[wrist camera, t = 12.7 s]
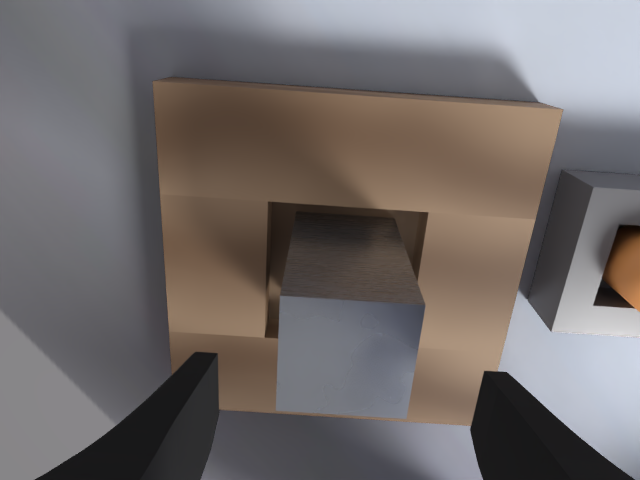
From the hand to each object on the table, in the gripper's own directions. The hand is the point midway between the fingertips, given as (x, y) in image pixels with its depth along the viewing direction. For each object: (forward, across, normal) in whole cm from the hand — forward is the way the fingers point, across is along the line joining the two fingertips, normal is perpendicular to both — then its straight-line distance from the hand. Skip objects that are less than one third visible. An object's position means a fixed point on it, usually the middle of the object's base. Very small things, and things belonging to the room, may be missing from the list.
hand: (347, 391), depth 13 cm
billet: (+8, 0, 0) cm, 8 cm away
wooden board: (+9, 0, 0) cm, 9 cm away
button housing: (+9, -12, -2) cm, 14 cm away
